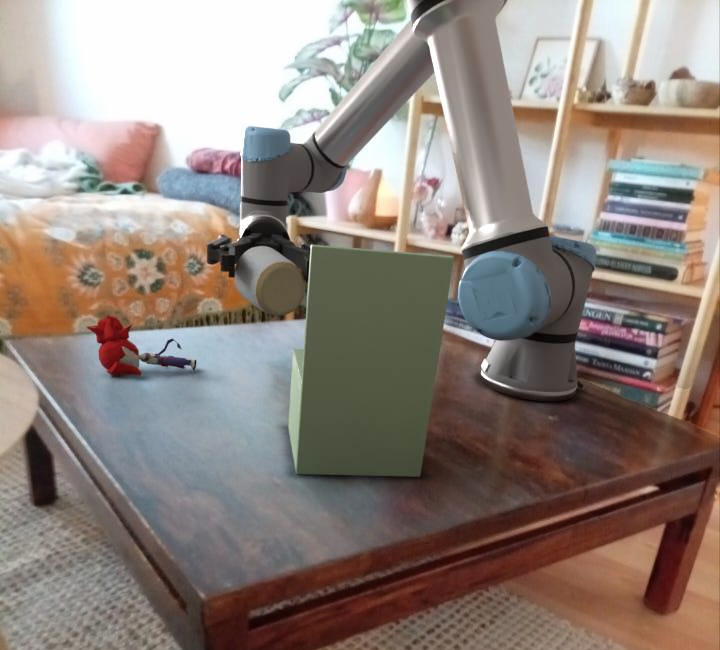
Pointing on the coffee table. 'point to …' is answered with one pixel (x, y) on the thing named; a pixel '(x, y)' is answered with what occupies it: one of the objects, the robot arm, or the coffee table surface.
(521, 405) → the coffee table surface
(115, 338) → the figurine
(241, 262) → the ceramic mug
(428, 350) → the tall sage green prism
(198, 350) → the coffee table surface
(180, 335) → the coffee table surface
